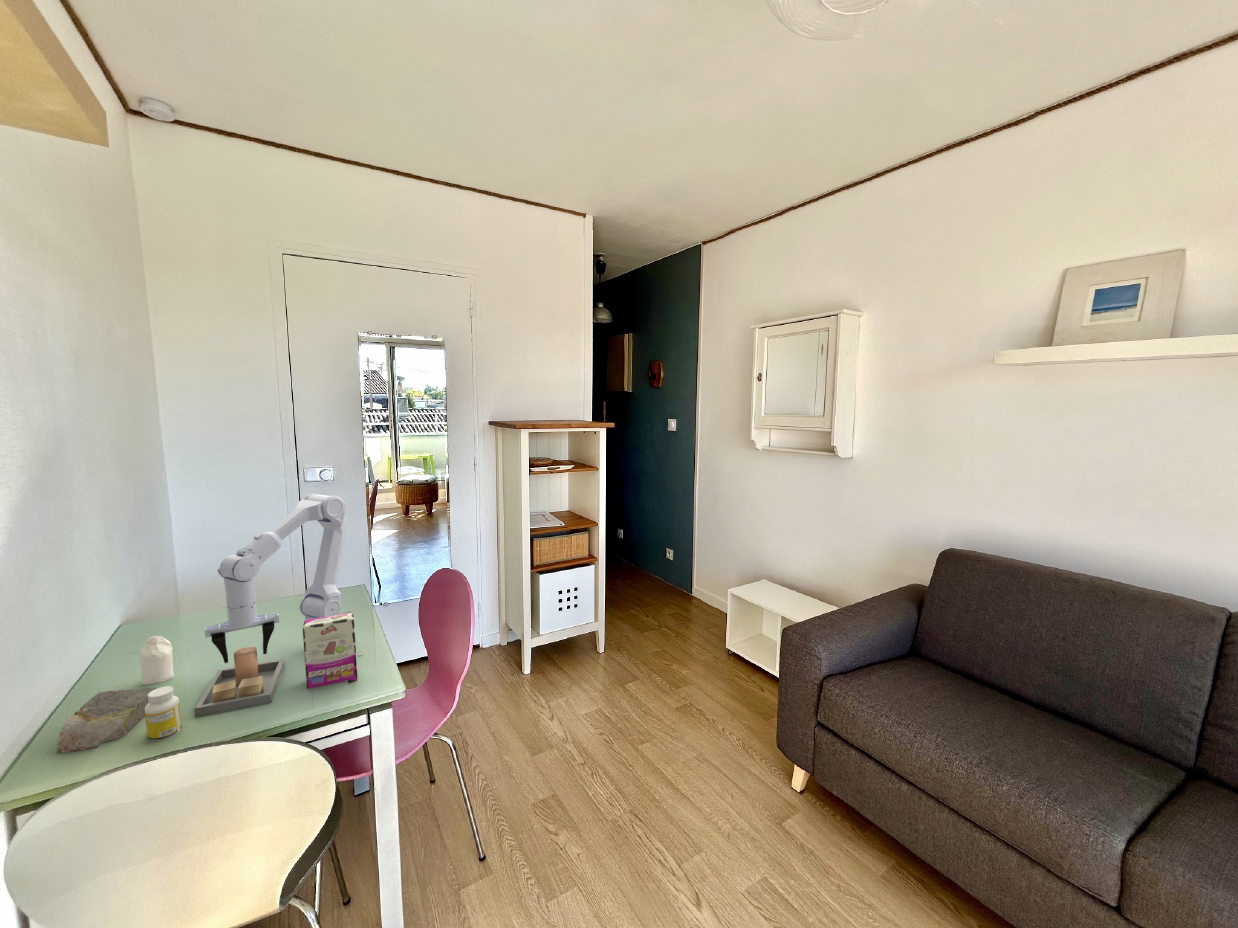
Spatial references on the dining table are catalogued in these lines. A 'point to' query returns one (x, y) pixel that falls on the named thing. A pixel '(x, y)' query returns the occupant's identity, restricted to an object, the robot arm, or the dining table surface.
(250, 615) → the robot arm
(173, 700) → the supplement bottle
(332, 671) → the candy bar box
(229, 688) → the beech block
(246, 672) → the flesh-toned capsule
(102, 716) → the geological specimen
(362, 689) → the dining table surface
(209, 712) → the tray
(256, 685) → the beech block
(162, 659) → the white sack
